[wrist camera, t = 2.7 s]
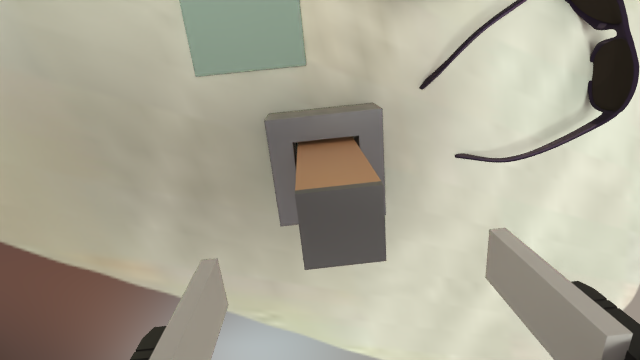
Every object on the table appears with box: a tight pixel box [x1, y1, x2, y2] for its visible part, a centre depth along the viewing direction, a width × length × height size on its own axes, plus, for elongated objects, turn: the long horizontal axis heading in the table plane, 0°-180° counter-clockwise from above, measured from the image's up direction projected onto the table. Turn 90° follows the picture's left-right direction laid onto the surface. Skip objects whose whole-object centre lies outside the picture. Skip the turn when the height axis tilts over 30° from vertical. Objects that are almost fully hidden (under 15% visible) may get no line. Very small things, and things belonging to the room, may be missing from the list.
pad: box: [179, 0, 306, 77], centre depth 29 cm, size 10×10×1 cm
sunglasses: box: [420, 0, 639, 162], centre depth 30 cm, size 14×16×5 cm
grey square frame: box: [265, 103, 386, 226], centre depth 32 cm, size 10×10×4 cm
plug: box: [295, 136, 386, 270], centre depth 27 cm, size 5×5×15 cm
